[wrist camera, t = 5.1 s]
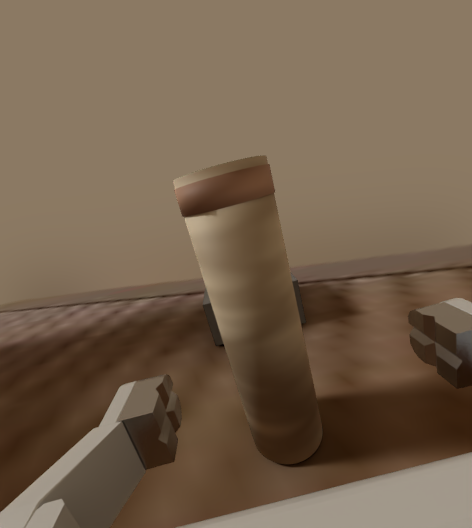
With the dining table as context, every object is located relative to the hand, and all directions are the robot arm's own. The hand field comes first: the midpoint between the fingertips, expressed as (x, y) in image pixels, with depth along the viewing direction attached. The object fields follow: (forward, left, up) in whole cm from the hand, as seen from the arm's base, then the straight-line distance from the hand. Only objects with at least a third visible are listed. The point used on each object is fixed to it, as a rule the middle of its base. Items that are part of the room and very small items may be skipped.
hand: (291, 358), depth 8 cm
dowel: (-1, +3, -6) cm, 7 cm away
